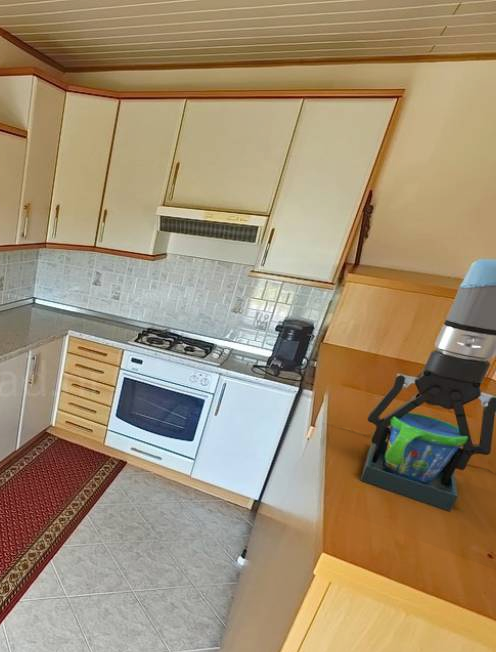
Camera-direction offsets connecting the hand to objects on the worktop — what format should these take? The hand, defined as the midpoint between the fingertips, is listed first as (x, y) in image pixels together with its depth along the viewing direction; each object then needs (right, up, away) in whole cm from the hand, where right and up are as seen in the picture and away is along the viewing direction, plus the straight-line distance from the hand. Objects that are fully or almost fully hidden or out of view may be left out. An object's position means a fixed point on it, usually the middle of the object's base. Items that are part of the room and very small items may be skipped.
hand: (407, 470), depth 89 cm
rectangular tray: (0, -1, 0) cm, 1 cm away
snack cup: (0, -1, 0) cm, 1 cm away
